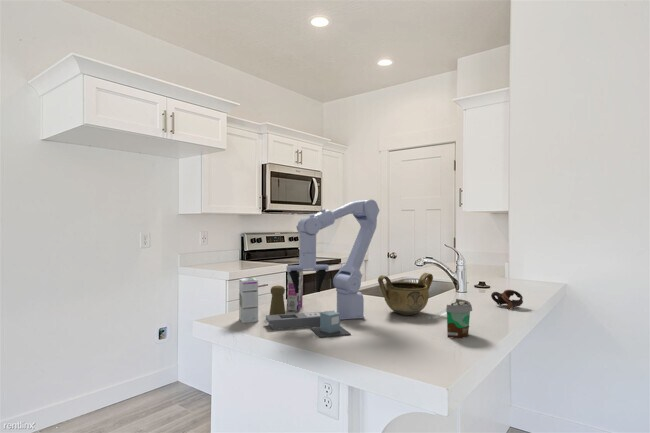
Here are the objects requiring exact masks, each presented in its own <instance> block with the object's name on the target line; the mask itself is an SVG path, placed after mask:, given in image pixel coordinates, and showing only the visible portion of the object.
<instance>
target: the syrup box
mask: <svg viewBox="0 0 650 433" xmlns="http://www.w3.org/2000/svg"><path fill="white" fill-rule="evenodd" d="M238 280H239V282H238V283H239V287H238V289H239V293H238V295H239V298H238V300H239V301H238V303H239V305H238V309H239V311H238V312H239V313H238V314H239V318H238V320H239V321H240V322H241V323H242V324H248V323H249V324H250V323H258V322H259V280H257V278H256V277H255V278H254V277H246V278H245V277H244V278H239V279H238Z"/></svg>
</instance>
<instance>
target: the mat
mask: <svg viewBox="0 0 650 433" xmlns="http://www.w3.org/2000/svg"><path fill="white" fill-rule="evenodd" d="M310 330H311V331H312V332H313V333H314V334H315V335H316V336H317V337H318V338H320V339H323V338H334V337H335V338H336V337H343V336H345V337H346V336H351V335H352V333H351V332H350V331H348V330H346V328H344V327H343V326H341V325H340V331H337V332H333V333H327V332H324V331H321V330H320V326H314V327H310Z"/></svg>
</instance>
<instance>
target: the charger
mask: <svg viewBox="0 0 650 433" xmlns="http://www.w3.org/2000/svg"><path fill="white" fill-rule="evenodd" d="M326 311H327V312H324V311H321V312H322V313H320V326H319V327H320V330H321V331H324V332H327V333H333V332H337V331H340V326H341V319H340V313H337V311H334V312H333V310H326Z"/></svg>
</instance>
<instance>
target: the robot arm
mask: <svg viewBox="0 0 650 433" xmlns="http://www.w3.org/2000/svg"><path fill="white" fill-rule="evenodd" d="M379 213H380V208H379V206H378V203H377V201H376V200H375V199H370V198H369V199H365V200H363V199H362V200H354V201H350V202H348V203H346V204H343V205H342V206H340V207H337V208H335V209H333V210H330V209H325V208H324V209H320V212H317V213H315V214H313V213H311V214H309V217H303V218H300V219H299V221H298V223H297V225H296V230H297V232H298V233H299V264H295V265H286V270H285V271H286V272H289V274H290V276H291V279H292V281H293V284H294V289H295V293H298V280H299V274H298V272H297V271H303V272H315V277H316V278H315V280H316V281H315V282H316V285H315V289H316V290H315V292H317V293H320V292H321V289H322V288H321V287H322V285H323V281H324V279H325V278H326V275H327V272H328V271H329V269H330V268H329V264H317V234H318V233H319V232H320V231H321V230H323V229H325V228H328V227H330V226H332V225H334V223H335V222H336V220H337V219H340V218H342V217H345V216H348V215H353V217H354V218H355V219H356V221H357V222H358V224H359V225H360V227H359V228H360V229H359V231H358V232H357V235H356V238H355V240H354V243H353V245H352V247H351V251H350V253H349V255H348V257H347V261H346V263H345V264H344V265H342V266H341V267H340V268H339V270H338V272H337V273H336V274H335V275H334V277H333V280H332V284H333V287H334V288H335V290H336V312H337V313H340V320H352V319H353V320H355V319H365V316H364V310H365V308H364V304H365V303H364V300H365V299H364V295H363V294H362V292H360V291H359V290H360V288H361V284H362V283H361V282H362V281H361V280H362V279H363V274H362V273H361V270H360V269H361V268H362V264H363V262H364V259H365V257H366V254H367V252H368V249H369V247H370V246H371V245H370V244H371V242H372V239H373V237H374V234H375V232H376V229H377V223H378V222H377V221H378V220H377V219H378V215H379ZM299 269H300V270H299ZM302 269H303V270H302Z"/></svg>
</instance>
